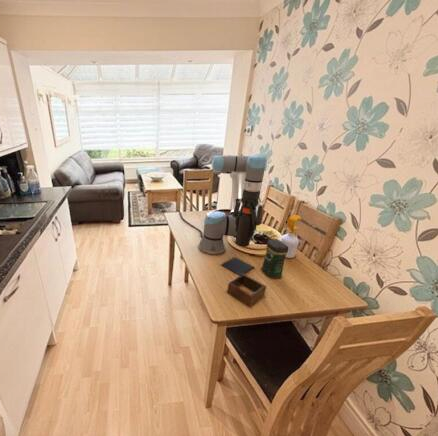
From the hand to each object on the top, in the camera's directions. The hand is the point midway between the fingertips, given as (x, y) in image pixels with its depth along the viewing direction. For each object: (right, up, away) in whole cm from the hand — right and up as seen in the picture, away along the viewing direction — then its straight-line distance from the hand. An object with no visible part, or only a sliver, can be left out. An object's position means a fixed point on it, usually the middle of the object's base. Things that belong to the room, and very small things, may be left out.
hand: (243, 233), depth 120 cm
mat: (0, -19, +9) cm, 21 cm away
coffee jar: (+16, -21, +4) cm, 27 cm away
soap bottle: (+33, -14, +21) cm, 42 cm away
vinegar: (0, -6, +3) cm, 6 cm away
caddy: (-4, -27, -10) cm, 30 cm away
